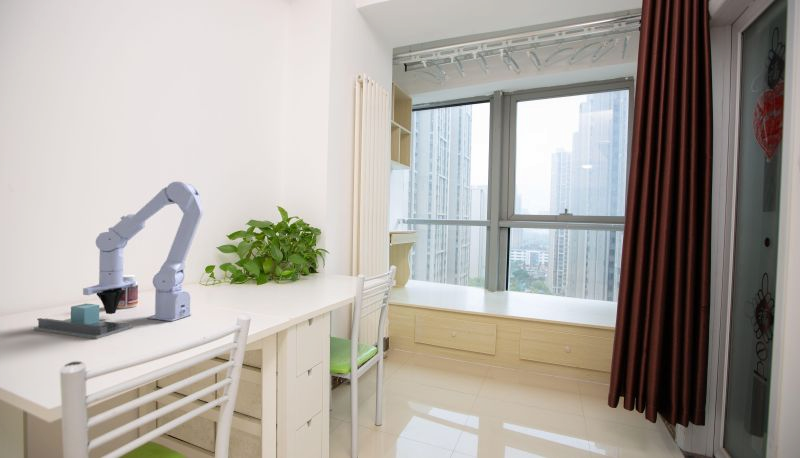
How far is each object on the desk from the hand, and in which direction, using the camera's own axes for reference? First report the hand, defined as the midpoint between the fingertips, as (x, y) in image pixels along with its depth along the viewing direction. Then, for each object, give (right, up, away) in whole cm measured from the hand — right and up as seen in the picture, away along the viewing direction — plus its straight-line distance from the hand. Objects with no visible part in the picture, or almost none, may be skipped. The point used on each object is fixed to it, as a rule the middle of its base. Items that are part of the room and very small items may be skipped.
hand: (110, 313), depth 108 cm
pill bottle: (-6, -1, +14) cm, 16 cm away
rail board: (+1, -2, -10) cm, 10 cm away
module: (-2, -1, -7) cm, 7 cm away
